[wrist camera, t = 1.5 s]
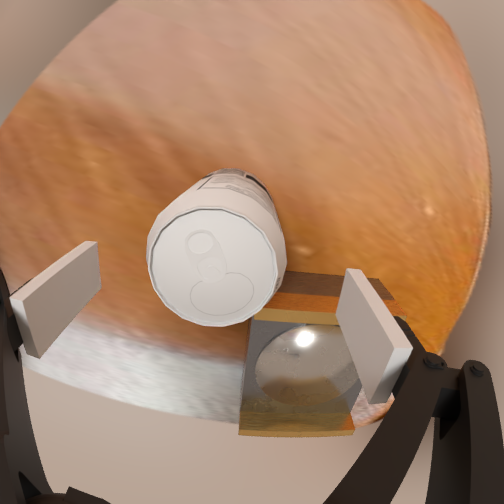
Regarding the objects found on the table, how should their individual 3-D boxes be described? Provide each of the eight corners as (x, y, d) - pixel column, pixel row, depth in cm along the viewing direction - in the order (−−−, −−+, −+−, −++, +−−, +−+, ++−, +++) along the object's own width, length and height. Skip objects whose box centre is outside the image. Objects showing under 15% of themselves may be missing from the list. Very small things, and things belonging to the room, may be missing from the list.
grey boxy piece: (240, 389, 39) (238, 435, 31) (255, 267, 32) (255, 307, 25) (339, 392, 39) (352, 435, 32) (378, 278, 33) (407, 315, 25)
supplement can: (283, 233, 31) (306, 313, 17) (207, 257, 32) (174, 347, 18) (258, 156, 28) (262, 171, 14) (178, 184, 29) (114, 226, 15)
